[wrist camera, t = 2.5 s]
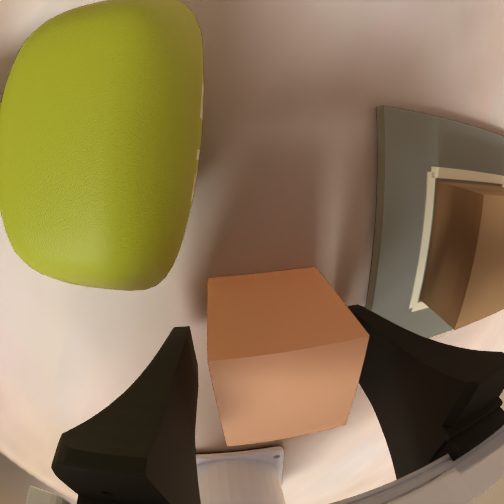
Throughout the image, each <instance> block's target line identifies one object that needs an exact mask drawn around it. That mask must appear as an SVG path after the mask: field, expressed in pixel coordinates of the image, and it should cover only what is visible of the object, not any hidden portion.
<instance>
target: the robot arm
mask: <svg viewBox="0 0 504 504" xmlns="http://www.w3.org/2000/svg"><path fill="white" fill-rule="evenodd" d="M347 307H348V308H349V310H350V311H351V312H352V313H353V315H354V316H355V317H356V319H357V320H358V321H359V322H360V324H361V325H362V326H363V328H364V329H365V330H366V332H367V333H368V334H369V335H370V336H369V340H368V345H367V350H366V354H365V358H364V362H363V366H362V370H361V374H360V378H359V384H360V385H361V387H362V389H363V390H364V392H365V394H366V395H367V397H368V399H369V401H370V403H371V404H372V406H373V408H374V411H375V413H376V416H377V418H378V420H379V423H380V425H381V428H382V431H383V433H384V436H385V439H386V442H387V445H388V448H389V451H390V455H391V458H392V462H393V466H394V470H395V474H396V478H397V480H395V481H393V482H391V483H388V484H386V485H383V486H381V487H378V488H376V489H373V490H370V491H368V492H365V493H362V494H359V495H356V496H353V497H350V498H347V499H344V500H341V501H337V502H334V503H331V504H472V503H473V502H474V501H475V500H476V499H477V498H479V497H480V496H481V495H483V494H484V493H485V492H486V491H488V490H489V489H490V488H491V487H492V486H494V485H495V484H496V483H497V482H498V481H500V480H501V479H502V478H503V477H504V411H503V410H502V408H501V407H500V406H501V405H502V400H501V399H500V398H499V396H500V394H501V393H502V391H503V389H504V353H503V352H491V351H478V350H470V349H464V348H459V347H455V346H451V345H447V344H443V343H440V342H437V341H434V340H431V339H428V338H425V337H423V336H420V335H418V334H416V333H413V332H411V331H409V330H407V329H405V328H403V327H401V326H399V325H397V324H395V323H393V322H391V321H389V320H387V319H385V318H383V317H381V316H380V315H378V314H376V313H374V312H372V311H370V310H368V309H366V308H364V307H362V306H360V305H353V306H347ZM197 397H198V364H197V360H196V355H195V351H194V346H193V341H192V336H191V331H190V326H186V327H174V328H173V330H172V331H171V333H170V334H169V336H168V338H167V339H166V341H165V342H164V344H163V345H162V347H161V348H160V350H159V351H158V353H157V354H156V356H155V357H154V358H153V360H152V361H151V363H150V364H149V365H148V366H147V368H146V369H145V370H144V371H143V373H142V374H141V375H140V376H139V377H138V379H137V380H136V381H135V382H134V383H133V384H132V385H131V386H130V387H129V388H128V389H127V390H126V391H125V392H124V393H123V394H122V395H121V396H120V397H118V398H117V399H116V400H115V401H114V402H112V403H111V404H110V405H109V406H108V407H106V408H105V409H104V410H102V411H101V412H99V413H98V414H96V415H95V416H93V417H92V418H90V419H89V420H87V421H86V422H84V423H82V424H80V425H78V426H76V427H75V428H73V429H71V430H69V431H67V432H65V433H63V434H62V435H61V438H60V440H59V443H58V446H57V449H56V452H55V456H54V459H53V462H52V467H51V468H52V470H53V472H54V473H55V475H56V476H57V477H58V478H59V479H60V480H61V481H62V482H64V483H65V484H66V485H67V486H68V487H70V488H71V489H72V490H73V491H74V492H76V493H77V494H78V500H77V504H285V500H284V496H283V492H282V488H281V484H282V472H283V460H284V450H283V448H282V447H280V446H277V447H270V448H263V449H256V450H248V451H239V452H229V453H216V454H196V449H195V424H196V410H197ZM26 504H71V503H70V502H69V501H67V500H66V499H64V498H63V497H61V496H59V495H56V494H54V493H51V492H48V491H45V490H42V489H39V488H36V487H34V486H30V488H29V492H28V495H27V499H26Z"/></svg>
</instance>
